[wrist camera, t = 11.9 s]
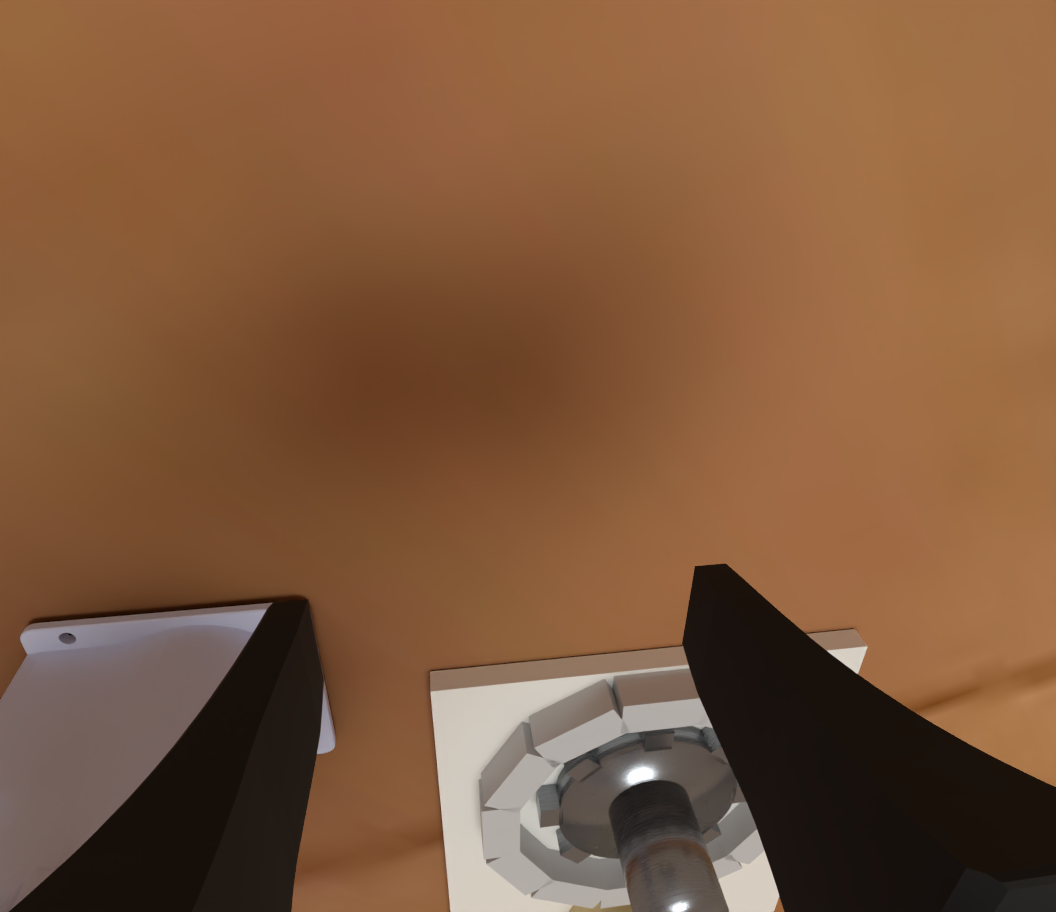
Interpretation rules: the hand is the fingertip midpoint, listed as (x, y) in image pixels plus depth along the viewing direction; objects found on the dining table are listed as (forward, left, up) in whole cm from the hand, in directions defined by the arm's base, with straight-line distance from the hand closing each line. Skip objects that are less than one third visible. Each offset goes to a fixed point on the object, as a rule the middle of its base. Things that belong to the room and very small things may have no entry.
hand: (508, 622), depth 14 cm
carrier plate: (+7, -24, -10) cm, 27 cm away
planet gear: (+7, -20, -9) cm, 23 cm away
